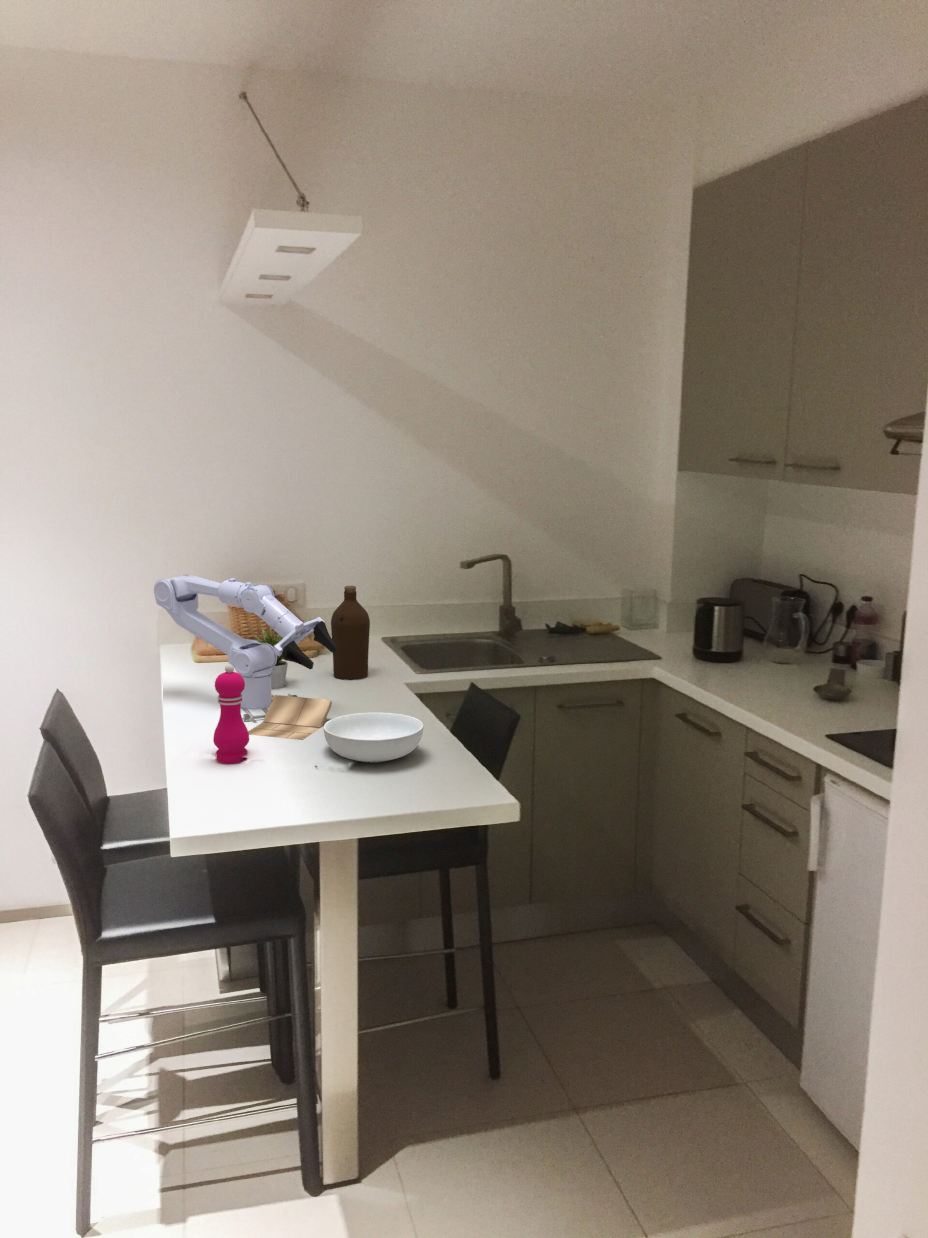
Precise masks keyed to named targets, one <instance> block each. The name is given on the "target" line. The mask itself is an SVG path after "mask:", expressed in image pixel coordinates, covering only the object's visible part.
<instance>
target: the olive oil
mask: <svg viewBox="0 0 928 1238" xmlns="http://www.w3.org/2000/svg"><path fill="white" fill-rule="evenodd" d="M343 588H344V591H343V601H342V602H341V603H340V605H339V606H337V608H335V610H334V611H333V613H332V615H331V619H330V630H331V632H330V633H331V639H332V640H333V642H334V643H335V645H336V646H337V651H336V653H332V669H333V671H332V672H333V678H335V679H338V678H339V680H344V679H349V681H351V680H350V679H356V680H361V678H362V679H364V678H365V679H366V678H367V677H368V676H369V648H370V631H371V630H370V628H371V620H370V615H369V614H368V612H367V610H366V609H365V608H364V607H363V605H361V604H360V602H359V601H358V599H357V591H356V590H357V586H356V585H345V586H344V587H343Z"/></svg>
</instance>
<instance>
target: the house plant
mask: <svg viewBox="0 0 928 1238" xmlns="http://www.w3.org/2000/svg"><path fill="white" fill-rule="evenodd" d="M261 631H262V635H263V636H262V635H260V637H261V639H260V637H258V636H257V635H256V634H253V636H254V637H255V639H257V641H258V642H260V643H267V644H270V645H271V646H273V648H274V646H275V645H276V644H278V643H279V642H280V641H281V640H282V639H283V638H282V637H281V636H280V635H279V634H278V633H277V635H276V637H275V634H274V632H273V629H272V628H271V627H270V626H269V632H270V634H269V633H267V631H266V630H265V629H264V628H262V629H261ZM282 656H283V654H281V655H280V656H278V655H277V662H276V664H275V666H274V667H272V672H271V690H272V689H275V690H277V689H281V688H284V687H285V685H286V678H287V672H288V664H289V662H288V661H286V660H284V659H283V658H282Z"/></svg>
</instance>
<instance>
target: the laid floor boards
mask: <svg viewBox="0 0 928 1238" xmlns="http://www.w3.org/2000/svg"><path fill="white" fill-rule="evenodd" d="M319 729H320V728H316V727H306V726H295V725H285V724H275V723H265V722H261V723H260V724H257V725H256V726H254V727H252V728H251V729H250V730H248V733H249V736H250V735H252V736H258V737H259V736H261V737H272V738H280V739H290V740H298V741H299V740H301V741H303V740H305V739H307V738H308V737H309V736H310V735H312V734H314V733H315V732H317V731H318V730H319Z"/></svg>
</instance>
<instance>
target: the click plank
mask: <svg viewBox="0 0 928 1238" xmlns="http://www.w3.org/2000/svg"><path fill="white" fill-rule="evenodd" d="M332 705H333V701H332V700H331V699H324V698H323V699H321V698H313V697H311V698H310V697H302V696H292V695H289V696H288V695H280V694H275V695H274V697H273V698H272V703H271V705H270V707H268V708H267V709H268V710H267V712H266V714H265V716H264V719H263V720H262V723H272V724H282V725H292V726H302V727H312V728H319V729H321V728H322V727H324V724H325V723H326V719H327V716H328V715H329V712H330V710H331V707H332Z"/></svg>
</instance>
